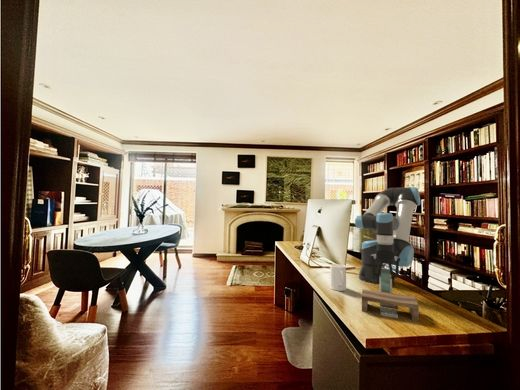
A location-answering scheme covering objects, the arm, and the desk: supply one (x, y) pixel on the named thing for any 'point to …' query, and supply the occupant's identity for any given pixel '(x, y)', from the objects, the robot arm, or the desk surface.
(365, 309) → the riser
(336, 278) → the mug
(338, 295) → the desk surface
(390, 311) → the tile
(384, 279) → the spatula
